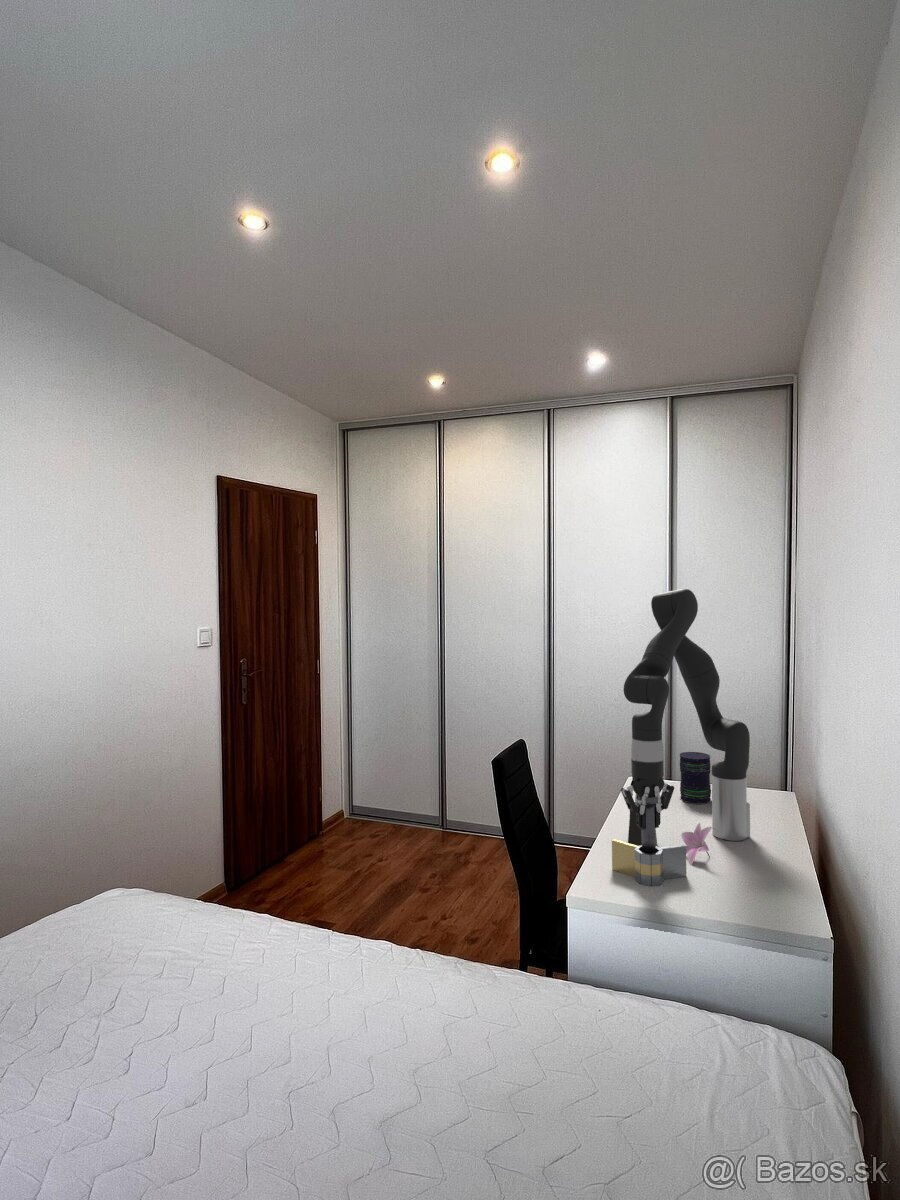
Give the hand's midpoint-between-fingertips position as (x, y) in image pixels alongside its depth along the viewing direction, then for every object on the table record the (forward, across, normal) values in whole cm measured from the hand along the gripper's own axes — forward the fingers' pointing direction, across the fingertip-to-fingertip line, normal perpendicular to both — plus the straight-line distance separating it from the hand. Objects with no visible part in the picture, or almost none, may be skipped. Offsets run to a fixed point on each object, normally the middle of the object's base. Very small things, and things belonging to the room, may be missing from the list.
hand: (648, 827), depth 164 cm
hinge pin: (+9, 0, 0) cm, 9 cm away
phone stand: (+13, -10, -20) cm, 26 cm away
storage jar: (+13, -49, -52) cm, 73 cm away
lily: (+13, -19, -8) cm, 25 cm away
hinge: (+13, -2, -3) cm, 13 cm away
